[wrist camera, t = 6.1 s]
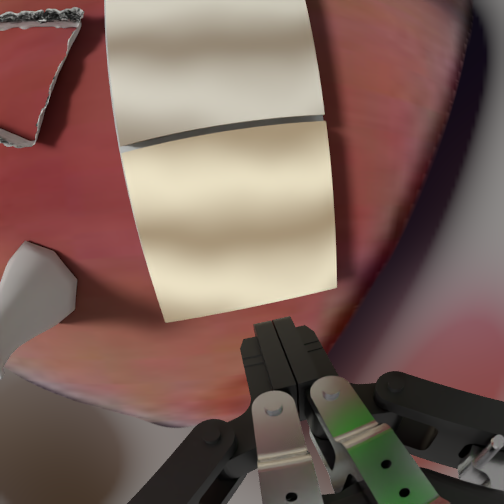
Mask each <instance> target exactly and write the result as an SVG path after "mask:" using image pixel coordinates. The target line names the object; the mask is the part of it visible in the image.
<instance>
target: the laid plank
mask: <svg viewBox="0 0 504 504" xmlns="http://www.w3.org/2000/svg"><path fill="white" fill-rule="evenodd" d="M106 30H107V47H108V60H109V71H110V80H111V89H112V97H113V105H114V112H115V118H116V125H117V131H118V137H119V143H120V147H121V146H127V145H131V144H135V143H139V142H143V141H147V140H151V139H155V138H160V137H164V136H169V135H173V134H178V133H183V132H188V131H193V130H199V129H204V128H210V127H216V126H223V125H229V124H236V123H243V122H251V121H259V120H268V119H278V118H289V117H303V116H317V115H325V112H324V105H323V97H322V90H321V83H320V76H319V70H318V64H317V58H316V52H315V46H314V41H313V36H312V30H311V25H310V21H309V16H308V11H307V7H306V2H305V0H106Z"/></svg>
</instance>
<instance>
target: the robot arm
mask: <svg viewBox="0 0 504 504" xmlns="http://www.w3.org/2000/svg"><path fill="white" fill-rule="evenodd" d="M254 331H255V337H252V338H247V339H243V342H242V345H241V348H240V350H241V355H242V359H243V364H244V368H245V373H246V377H247V382H248V386H249V391H250V395H251V403H250V406H249V408H248V409H247V411H246V412H245V413H244V414H242V415H241V416H240V417H238V418H236V419H234V420H232V421H230V422H225V421H223V420H219V419H210V420H206V421H203V422H201V423H199V424H198V425H197V426H196V427H195V428H194V429H193V430H192V431H191V433H190V434H189V435H188V436H187V437H186V438H185V440H184V441H183V442H182V443H181V444H180V446H179V447H178V448H177V449H176V450H175V451H174V453H173V454H172V455H171V456H170V457H169V458H168V459H167V461H166V462H165V463H164V464H163V465H162V466H161V468H160V469H159V470H158V471H157V472H156V473H155V474H154V475H153V477H152V478H151V479H150V480H149V481H148V482H147V483H146V484H145V485H144V486H143V488H142V489H141V490H140V491H139V492H138V493H137V494H136V495H135V496H134V497H133V498H132V499H131V500H130V501H129V502H128V503H127V504H227V503H228V501H229V500H230V499H231V497H232V496H233V494H234V493H235V491H236V490H237V489H238V487H239V485H240V484H241V483H242V481H243V480H244V478H245V477H246V475H247V473H249V472H250V471H253V470H255V469H257V468H258V474H259V481H260V488H261V496H262V503H263V504H504V402H503V401H499V400H494V399H491V398H487V397H483V396H479V395H476V394H472V393H468V392H465V391H461V390H457V389H454V388H451V387H447V386H444V385H440V384H437V383H434V382H430V381H427V380H424V379H421V378H418V377H415V376H412V375H408V374H406V373H403V372H398V371H392V372H387V373H385V374H383V375H382V376H380V377H379V379H378V380H377V382H376V383H371V384H352V383H349V382H348V381H347V380H345V379H344V378H341V377H339V376H338V374H337V372H336V371H335V369H334V367H333V365H332V363H331V362H330V360H329V358H328V356H327V354H326V352H325V351H324V349H323V347H322V345H321V343H320V342H319V340H318V338H317V336H316V334H315V333H314V331H312V330H311V329H310V328H308V327H307V326H305V325H304V326H300V327H295V325H294V323H293V321H292V319H291V317H290V316H289V317H284V318H280V319H276V320H272V321H267V322H262V323H258V324H254ZM306 419H307V421H308V424H309V427H310V436H311V439H312V441H313V443H314V445H315V447H316V449H317V451H318V453H319V455H320V457H321V459H322V461H323V463H324V465H325V467H326V469H327V471H328V473H329V476H330V480H331V484H332V487H333V490H334V492H335V494H327V495H321V491H320V488H319V484H318V480H317V476H316V473H315V468H314V465H313V461H312V458H311V455H310V453H309V452H308V451H307V448H306V444H305V440H304V436H303V433H302V428H301V424H300V421H302V420H306ZM410 454H411V455H414V456H417V457H420V458H423V459H426V460H429V461H433V462H436V463H439V464H442V465H446V466H449V467H453V468H456V469H458V473H459V479H457V478H453V477H450V476H447V475H444V474H441V473H438V472H435V471H432V470H429V469H425V468H421V467H418V465H417V463H416V462H415V461H414V459H413V458H412V456H411V455H410Z"/></svg>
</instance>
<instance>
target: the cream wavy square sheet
mask: <svg viewBox="0 0 504 504" xmlns="http://www.w3.org/2000/svg"><path fill="white" fill-rule="evenodd" d="M121 155H122V161H123V166H124V171H125V176H126V181H127V186H128V190H129V195H130V199H131V204H132V208H133V212H134V217H135V221H136V225H137V229H138V233H139V236H140V240H141V244H142V248H143V251H144V255H145V259H146V262H147V266H148V269H149V272H150V276H151V279H152V282H153V286H154V289H155V292H156V295H157V298H158V301H159V304H160V308H161V311H162V314H163V316H164V319H165V322H166V323H168V322H174V321H180V320H185V319H191V318H197V317H202V316H208V315H213V314H218V313H224V312H229V311H234V310H239V309H244V308H249V307H254V306H259V305H263V304H268V303H273V302H277V301H282V300H286V299H291V298H295V297H300V296H304V295H308V294H313V293H317V292H321V291H325V290H329V289H333V288H337V265H336V234H335V215H334V199H333V185H332V173H331V162H330V152H329V143H328V134H327V126H326V121H314V122H300V123H288V124H278V125H268V126H259V127H251V128H244V129H237V130H230V131H223V132H217V133H211V134H205V135H200V136H195V137H189V138H184V139H179V140H174V141H170V142H165V143H161V144H156V145H152V146H148V147H144V148H140V149H136V150H132V151H128V152H124V153H121Z"/></svg>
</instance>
